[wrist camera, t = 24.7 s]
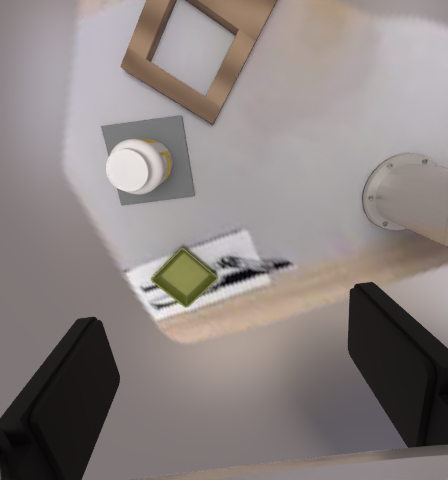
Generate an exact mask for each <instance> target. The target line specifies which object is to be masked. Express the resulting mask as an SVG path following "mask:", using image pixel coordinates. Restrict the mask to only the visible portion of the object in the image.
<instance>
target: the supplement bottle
mask: <svg viewBox="0 0 448 480" xmlns="http://www.w3.org/2000/svg"><path fill="white" fill-rule="evenodd" d="M172 167H173V160H172V156H171V154H170V152H169V150H168V149H167V148H166V146H164V145H163V144H162V143H160V142H158V141H156V140H151V139H129V140H125V141H122V142H120V143H119V144H117V145H116V146H115V147H114V149H113V150H112V151H111V153H110V156H109V158H108V160H107V163H106V173H107V176H108V178H109V180H110V182H111V183H112V184H113V185H114V186H115V187H117V188H118V189H120V190H122V191H126V192H128V193H131V194H137V195H139V194H146V193H148V192H151V191H152V190H154V189H155V188H156V187H157V186H159V185H160V184H161V183H162V182H164V181H165V180H166V179H167V178H168V177H169V175H170V173H171V171H172Z"/></svg>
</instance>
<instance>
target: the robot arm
mask: <svg viewBox="0 0 448 480" xmlns="http://www.w3.org/2000/svg"><path fill="white" fill-rule="evenodd" d="M387 165H388V167H387ZM368 197H369V198H368ZM363 205H364V209H365V212H366V214H367V216H368V218H369V219H370V220H371V221H372V222H373V223H375V224H376V225H378V226H379V227H381V228H384V229H388V230H404V229H409V230H411V231H414V232H416V233H418V234H420V235H422V236H425V237H427V238H429V239H431V240H433V241H436V242H438V243H440V244H442V245H444V246H447V247H448V168H445V167H438V166H437V164H436V163H435V162H434V161H433V160H431V159H430V158H429V157H426V156H424V155H420V154H413V153H407V154H400V155H397V156H394V157H392V158H390V159H388V160H386V161H385V162H384V163H382V164H381V165H380V166H379V167H378V168H377V169H376V170H375V171H374V172H373V173H372V175H371V176H370V178H369V179H368V182H367V184H366V186H365V189H364V194H363ZM348 351H349V354H350V356H351V358H352V360H353V361H354V363H355V365H356V366H357V368H358V369H359V371H360V372H361V374H362V376H363V377H364V379H365V380H366V382H367V384H368V385H369V387H370V388H371V390H372V391H373V393H374V395H375V396H376V398H377V399H378V401H379V403H380V404H381V406H382V407H383V409H384V410H385V412H386V414H387V415H388V417H389V418H390V420H391V422H392V423H393V425H394V426H395V428H396V429H397V431H398V433H399V434H400V436H401V437H402V439H403V441H404V442H405V444H406V445H407V447H408V448H402V449H391V450H380V451H371V452H362V453H353V454H344V455H335V456H326V457H317V458H308V459H299V460H290V461H281V462H272V463H264V464H255V465H246V466H238V467H230V468H221V469H213V470H205V471H195V472H187V473H179V474H170V475H163V476H154V477H146V478H138V479H130V480H448V348H447V347H445V346H444V345H443V344H442V343H441V342H440V341H439V340H438V339H437V338H436V337H434V336H433V335H432V334H431V333H430V332H429V331H428V330H426V329H425V328H424V327H423V326H422V325H421V324H420V323H419V322H417V321H416V320H415V319H414V318H413V317H412V316H411V315H410V314H408V313H407V312H406V311H405V310H404V309H403V308H402V307H401V306H399V305H398V304H397V303H396V302H395V301H394V300H392V298H390V297H389V296H388V295H387V294H386V293H385V292H384V291H382V290H381V289H380V288H379V287H378V286H377V285H376V284H375V283H373V282H368V283H360V284H356V285H355V286H354V288H352V289H351V290H350V301H349V330H348ZM119 382H120V375H119V372H118V369H117V366H116V363H115V360H114V357H113V354H112V351H111V348H110V345H109V342H108V339H107V336H106V333H105V330H104V327H103V324H102V322H101V321H100V320H97V318H96V317H88V318H80V319H77V320H76V321H75V323H74V324H73V325H72V327H71V328H70V329H69V331H68V332H67V333H66V334H65V336H64V337H63V338H62V339H61V341H60V342H59V343H58V345H57V346H56V347H55V348H54V350H53V351H52V352H51V354H50V355H49V356H48V357H47V359H46V360H45V361H44V363H43V364H42V365H41V366H40V368H39V369H38V370H37V372H36V373H35V374H34V376H33V377H32V378H31V379H30V381H29V382H28V383H27V384H26V386H25V387H24V388H23V390H22V391H21V392H20V393H19V395H18V396H17V397H16V399H15V400H14V401H13V402H12V404H11V405H10V406H9V408H8V409H7V410H6V411H5V413H4V414H3V415H2V417H1V418H0V480H82V477H83V475H84V472H85V470H86V467H87V464H88V462H89V459H90V457H91V454H92V452H93V449H94V447H95V444H96V442H97V439H98V437H99V434H100V432H101V429H102V427H103V424H104V421H105V419H106V417H107V414H108V411H109V409H110V406H111V404H112V401H113V399H114V396H115V394H116V391H117V389H118V386H119Z"/></svg>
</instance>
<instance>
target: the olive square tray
mask: <svg viewBox="0 0 448 480" xmlns="http://www.w3.org/2000/svg"><path fill="white" fill-rule="evenodd" d="M217 280H218V277H217V276H216V275H215V274H214V273H213V272H212V271H210V270H209V269H208V268H207V267H206V266H204V265H203V264H202V263H201V262H200V261H199V260H197V259H196V258H195V257H194V256H193V255H192V254H190V253H189V252H188V251H187V250H186V249H185V248H181V249H180V250H179V251H178V252H177V253H176V254H175V255H174V256H173V257H172V258H171V259H170V260H169V261H168V262H167V263H166V264H165V265H164V266H163V267H162V268H161V269H160V270H159V271H158V272H157V273H156V274H155V275H154V276H153V277H152V278H151V281H152V282H153V283H154V284H156V285H157V286H158V287H159V288H161V289H162V290H163V291H165V292H166V293H167V294H168V295H170V296H171V297H172V298H174V299H175V300H176V301H177V302H179V303H180V304H181V305H182V306H184V307H189V306H190V305H191V304H192V303H193V302H194V301H195V300H196V299H197V298H198V297H199V296H200V295H202V294H203V293H204V292H205V291H206V290H207V289H208V288H209V287H210V286H211V285H212V284H213V283H215V282H216V281H217Z"/></svg>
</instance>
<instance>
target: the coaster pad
mask: <svg viewBox="0 0 448 480" xmlns="http://www.w3.org/2000/svg"><path fill="white" fill-rule="evenodd" d="M101 128H102V132H103V136H104V139H105V143H106V147H107V151H108V155H109V156H110V153H111V151H112V150H113V149H114V147H115V146H116V145H117V144H119V143H120V142H122V141H125V140H129V139H151V140H156V141H158V142H160V143H162V144H163V145H164V146H166V148H167V149H168V150H169V152H170V154H171V156H172V160H173V167H172V171H171V173H170V175H169V177H168V178H167V179H166V180H165V181H164V182H162V183H161V184H160V185H159V186H157V187H156V188H155V189H154V190H152V191H151V192H148V193H146V194H139V195H137V194H131V193H128V192H126V191H122V190H120V189H118V188H117V190H118V194H119V198H120V202H121V205H129V204H136V203H144V202H152V201H159V200H167V199H175V198H182V197H190V196H195V193H194V187H193V181H192V175H191V168H190V162H189V156H188V150H187V144H186V138H185V131H184V125H183V119H182V115H181V116H173V117H166V118H158V119H151V120H144V121H136V122H129V123H121V124H114V125H106V126H101Z"/></svg>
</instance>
